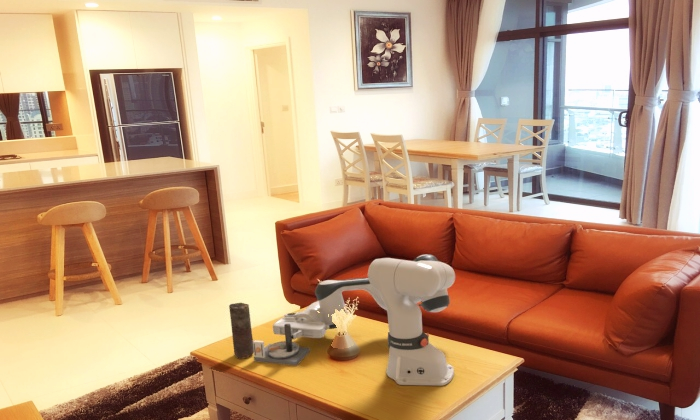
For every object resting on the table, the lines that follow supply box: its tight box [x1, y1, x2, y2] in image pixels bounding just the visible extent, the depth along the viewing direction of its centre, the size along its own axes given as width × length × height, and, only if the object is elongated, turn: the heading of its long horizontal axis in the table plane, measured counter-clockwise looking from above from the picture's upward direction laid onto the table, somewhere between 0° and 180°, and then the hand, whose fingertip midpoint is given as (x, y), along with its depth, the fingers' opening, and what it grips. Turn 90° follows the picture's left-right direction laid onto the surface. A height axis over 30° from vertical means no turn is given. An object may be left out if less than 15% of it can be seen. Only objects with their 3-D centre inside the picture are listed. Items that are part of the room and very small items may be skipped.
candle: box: [228, 302, 254, 360], centre depth 213 cm, size 8×7×20 cm
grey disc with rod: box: [267, 324, 300, 359], centre depth 210 cm, size 12×12×12 cm
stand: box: [253, 340, 311, 367], centre depth 210 cm, size 17×13×8 cm
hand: (290, 337), depth 207 cm, fingers closed
